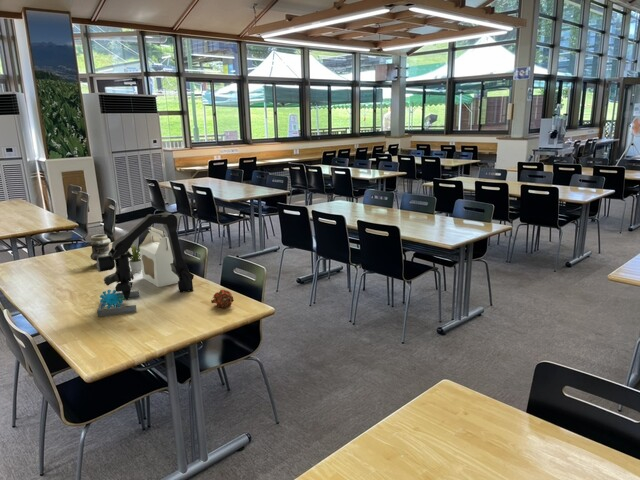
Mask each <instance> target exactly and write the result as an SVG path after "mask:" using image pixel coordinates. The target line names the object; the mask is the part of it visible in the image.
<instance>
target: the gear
mask: <svg viewBox="0 0 640 480" xmlns="http://www.w3.org/2000/svg"><path fill="white" fill-rule="evenodd" d="M111 291H112V292H111ZM120 292H121V291H120ZM120 292H116V289H113V290H111V289H107V291H106V290H105V291H103V292H102V294H101V295H100V296H99V298H100V300H99V303H100V302H106V303H103V304H102V305H103V306H105V307H106V308H114V307H122V304H124V303H123V302H124V301H123V300H124V298H125V297H124V295H123V297H122V296H121V297H118V296H120V295H121V294H120ZM113 293H117V294H113ZM107 294H108V295H107ZM103 295H105V297H104V296H103ZM117 295H118V296H117ZM102 298H103V299H104V300H103V299H102Z"/></svg>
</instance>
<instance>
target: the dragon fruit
mask: <svg viewBox="0 0 640 480" xmlns="http://www.w3.org/2000/svg"><path fill="white" fill-rule="evenodd" d="M211 298H212V299H211V300H210V303H211V304H216V307H217V308H219V307H220V308H222V307H223V308H222V309H225V308H224V307H227V308H228V307H231V306H232V304H233V302H234V301H235V300H234V296H233V295H232V293H231V292H230V291H229V290H226V289H220V291H217V292H215V293H214V294H213V297H211Z"/></svg>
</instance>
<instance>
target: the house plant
mask: <svg viewBox="0 0 640 480" xmlns="http://www.w3.org/2000/svg"><path fill="white" fill-rule="evenodd" d="M140 246H141V244H139V246H138V247H137V246H136V244H135V243H134V242H133V244H132V246H131V247H130V249H131V251H130V250H128V252H129V253H130V254H132V255H133V257H128V259H129V266H130V271H131V273H139V272H142V271H141V270H142V265H141V257H140V248H139V247H140ZM131 252H132V253H131Z"/></svg>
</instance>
